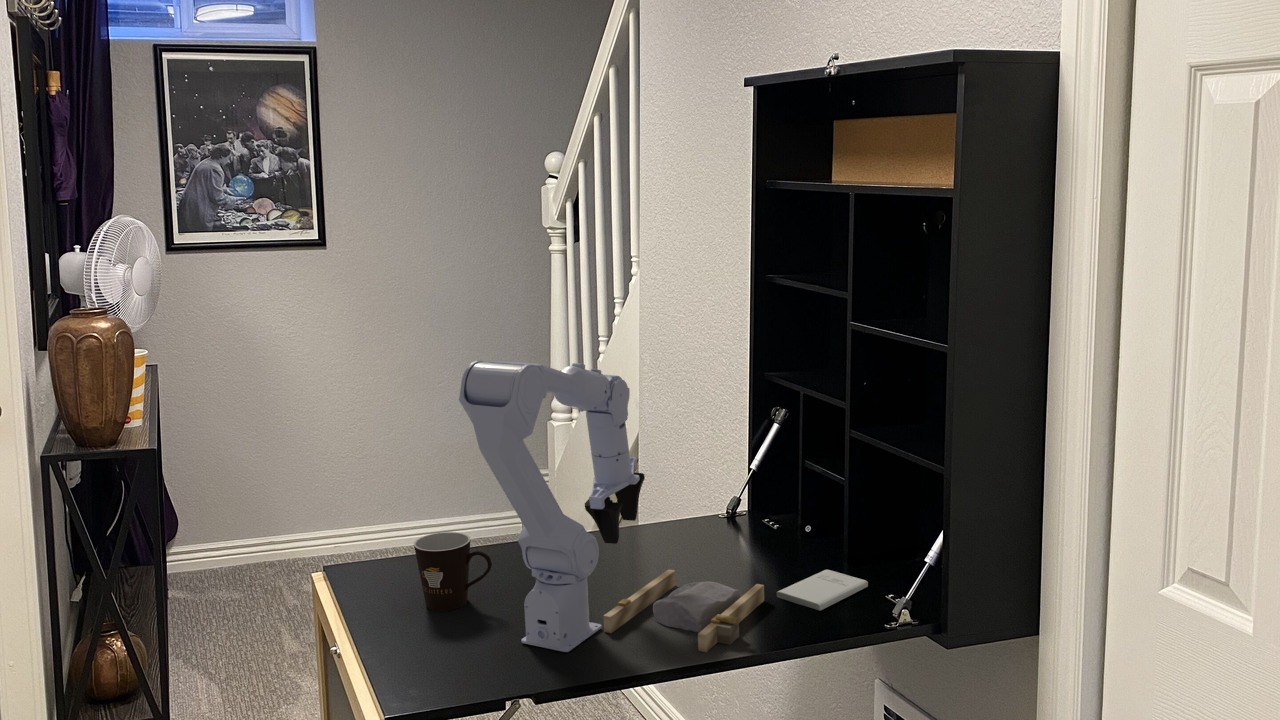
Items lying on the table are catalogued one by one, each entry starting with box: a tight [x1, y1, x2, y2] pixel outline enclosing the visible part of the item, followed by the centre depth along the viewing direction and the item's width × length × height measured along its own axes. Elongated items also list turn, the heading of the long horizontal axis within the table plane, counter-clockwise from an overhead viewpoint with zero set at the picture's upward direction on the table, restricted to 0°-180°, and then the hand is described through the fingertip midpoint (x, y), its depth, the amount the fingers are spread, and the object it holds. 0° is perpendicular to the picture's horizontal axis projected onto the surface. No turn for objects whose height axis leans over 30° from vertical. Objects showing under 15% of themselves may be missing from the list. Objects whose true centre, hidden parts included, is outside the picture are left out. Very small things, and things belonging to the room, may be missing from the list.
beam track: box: [603, 569, 765, 653], centre depth 172 cm, size 20×19×4 cm
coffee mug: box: [413, 531, 493, 612], centre depth 180 cm, size 12×9×10 cm
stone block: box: [652, 580, 742, 634], centre depth 174 cm, size 12×5×10 cm
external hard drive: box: [776, 569, 869, 612], centre depth 180 cm, size 2×8×12 cm
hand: (620, 530), depth 181 cm, fingers open, 7 cm apart
